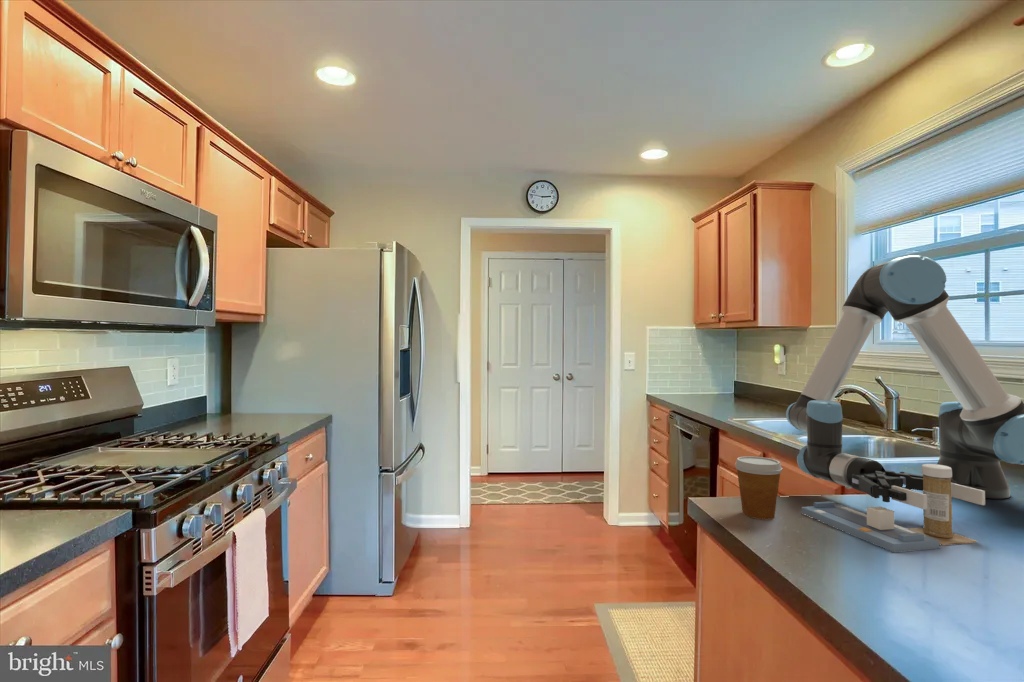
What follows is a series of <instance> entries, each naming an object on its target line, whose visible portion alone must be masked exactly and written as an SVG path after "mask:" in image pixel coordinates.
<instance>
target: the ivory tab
mask: <svg viewBox="0 0 1024 682" xmlns="http://www.w3.org/2000/svg"><path fill="white" fill-rule="evenodd" d="M866 514H867V525H869V526H871V527H874V528H877V529H879V530H887V529H894V524H895V511H894V510H892V509H889V508H886V507H882V506H870V507H866Z"/></svg>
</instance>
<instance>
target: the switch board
mask: <svg viewBox="0 0 1024 682" xmlns="http://www.w3.org/2000/svg"><path fill="white" fill-rule="evenodd" d="M800 509H801V513H803V514H806V515H808V516H810V517H813V518H815V519H817V520H816V521H818V520H820V521H822V522H824V523H823V524H825V523H826V524H825V525H827V524H829V525H828V526H830V525H831V526H830V527H832V526H834V527H836V528H835V529H837V528H838V529H837V530H839V529H841V530H843V531H842V532H844V531H845V532H844V533H846V532H847V533H846V534H849V533H850V534H849V535H851V534H852V535H851V536H853V535H854V536H853V537H856V538H858V537H859V538H858V539H860V538H861V539H860V540H863V541H865V540H866V542H868V541H869V542H868V543H870V542H871V544H872V543H874V544H873V545H875V544H876V545H875V546H877V545H878V546H877V547H879V546H880V547H879V548H882V547H883V548H882V549H884V548H885V549H884V550H887V551H889V550H890V551H889V552H891V551H892V553H903V551H904V552H913V551H914V550H916V551H924V550H925V551H926V550H934V549H935V550H936V549H937V548H938V549H940V544H939V540H937V539H934V538H932V537H929V536H926V535H924V534H921V533H918V532H915V531H912V530H909V528H906V527H903V526H901V525H898V524H895V523H894V529H887V530H879V529H877V528H874V527H871V526H869V525H867V513H864V512H862V511H859V510H857V509H854V508H851V507H847V506H845V505H843V504H836V502H834V501H813V505H812V506H811V505H810V506H801V508H800ZM803 514H802V515H803ZM806 515H805V516H806ZM808 516H807V517H808ZM810 517H809V518H810ZM813 518H812V519H813ZM815 519H814V520H815ZM820 521H819V522H820ZM822 522H821V523H822ZM834 527H833V528H834ZM841 530H840V531H841ZM901 551H902V552H901Z"/></svg>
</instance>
